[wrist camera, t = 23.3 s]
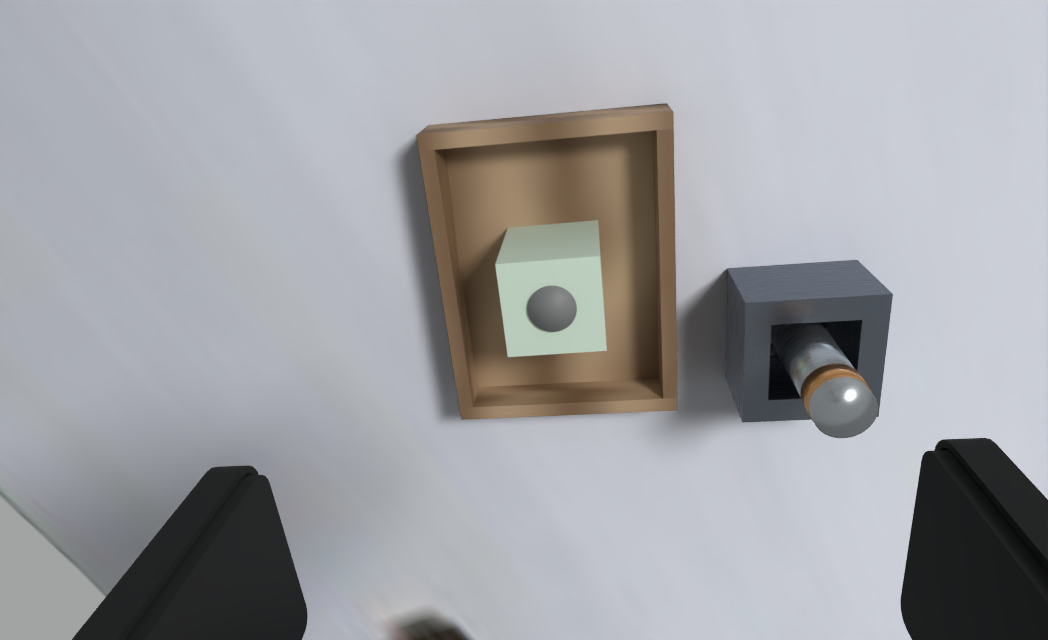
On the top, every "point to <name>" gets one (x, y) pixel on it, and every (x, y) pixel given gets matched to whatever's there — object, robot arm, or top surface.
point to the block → (794, 298)
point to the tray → (551, 198)
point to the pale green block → (552, 289)
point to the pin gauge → (825, 379)
